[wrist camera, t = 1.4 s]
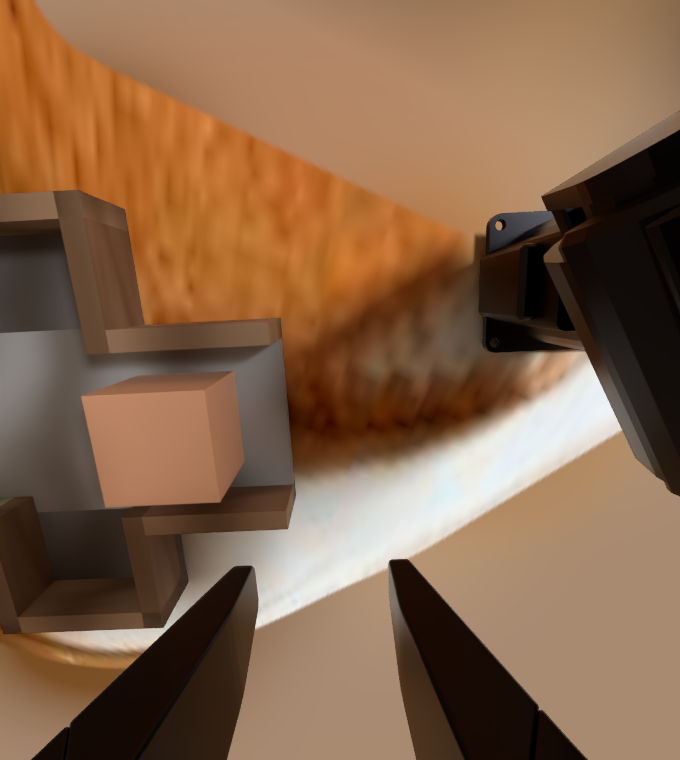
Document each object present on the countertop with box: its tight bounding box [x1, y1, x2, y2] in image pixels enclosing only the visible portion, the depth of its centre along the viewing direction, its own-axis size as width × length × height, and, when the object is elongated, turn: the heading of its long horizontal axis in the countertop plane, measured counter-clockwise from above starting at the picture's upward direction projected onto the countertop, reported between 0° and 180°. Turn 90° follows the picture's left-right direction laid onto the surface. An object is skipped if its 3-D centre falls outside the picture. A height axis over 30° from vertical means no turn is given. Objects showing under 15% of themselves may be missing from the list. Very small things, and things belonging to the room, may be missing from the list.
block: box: [81, 371, 245, 507], centre depth 17 cm, size 5×5×4 cm
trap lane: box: [0, 190, 296, 634], centre depth 18 cm, size 23×21×3 cm
